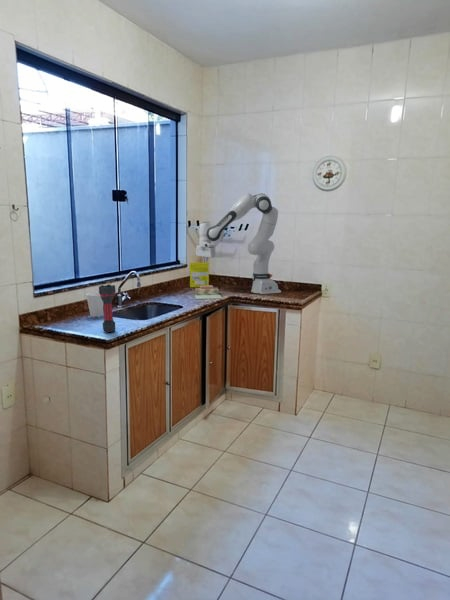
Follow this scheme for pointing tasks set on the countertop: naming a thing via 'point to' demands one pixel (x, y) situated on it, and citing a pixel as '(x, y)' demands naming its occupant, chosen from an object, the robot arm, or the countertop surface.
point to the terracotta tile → (206, 287)
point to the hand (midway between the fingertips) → (205, 262)
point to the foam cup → (95, 304)
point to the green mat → (208, 297)
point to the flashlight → (107, 306)
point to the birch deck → (206, 291)
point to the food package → (199, 274)
